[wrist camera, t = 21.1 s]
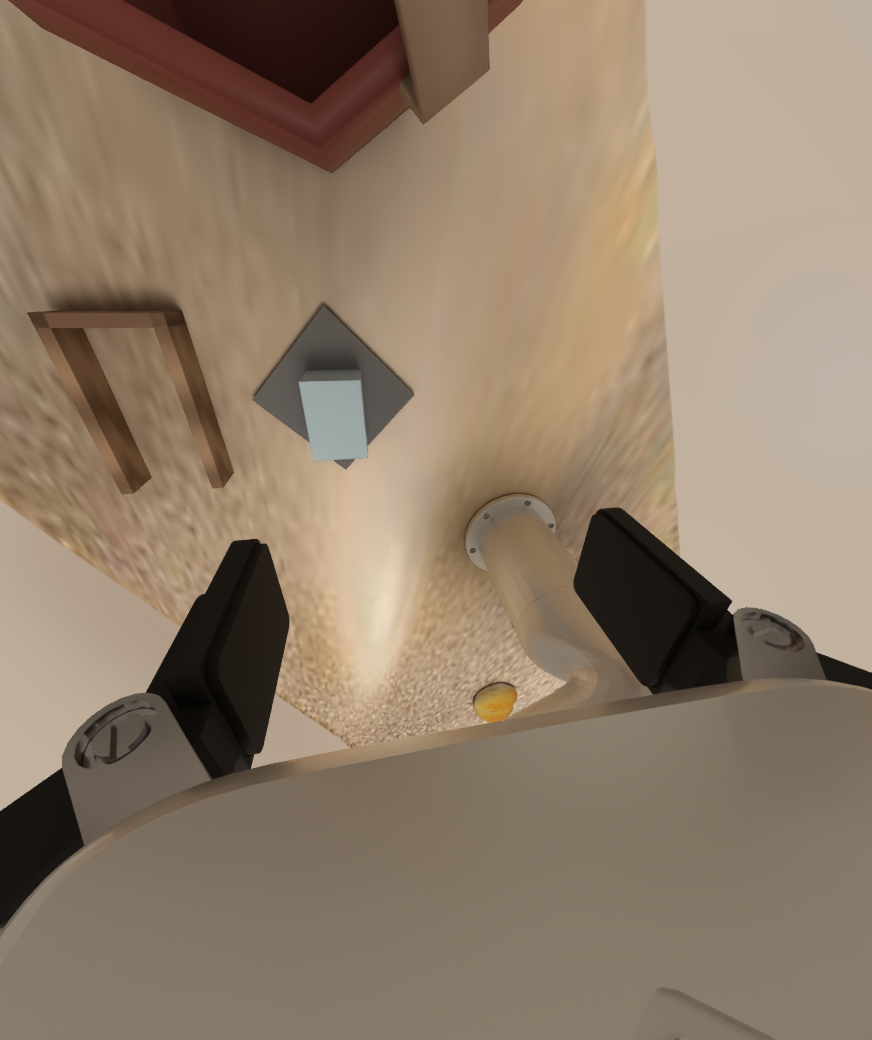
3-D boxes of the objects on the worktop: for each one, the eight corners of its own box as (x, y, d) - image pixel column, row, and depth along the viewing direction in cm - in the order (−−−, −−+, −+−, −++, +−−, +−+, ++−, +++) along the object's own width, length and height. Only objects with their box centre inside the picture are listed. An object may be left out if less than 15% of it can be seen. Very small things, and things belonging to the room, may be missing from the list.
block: (367, 439, 38) (367, 457, 34) (318, 442, 37) (313, 460, 33) (360, 369, 34) (360, 380, 30) (306, 370, 34) (298, 381, 30)
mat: (413, 392, 37) (414, 394, 37) (346, 466, 40) (345, 469, 40) (324, 304, 32) (323, 305, 31) (254, 397, 35) (252, 399, 34)
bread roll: (518, 679, 69) (526, 699, 66) (506, 706, 74) (513, 725, 71) (477, 682, 67) (483, 702, 64) (468, 709, 72) (473, 730, 69)
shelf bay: (233, 472, 38) (223, 487, 36) (140, 478, 37) (121, 494, 34) (182, 310, 30) (162, 312, 27) (60, 310, 29) (26, 312, 26)
